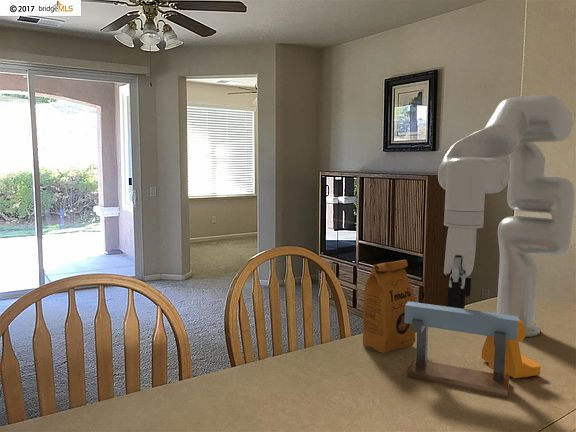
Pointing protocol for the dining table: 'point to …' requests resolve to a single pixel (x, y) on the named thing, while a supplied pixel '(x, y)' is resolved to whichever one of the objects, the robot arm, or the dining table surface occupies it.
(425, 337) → the stand
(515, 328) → the rail
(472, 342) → the dining table surface
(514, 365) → the bracket
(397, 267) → the coffee package
